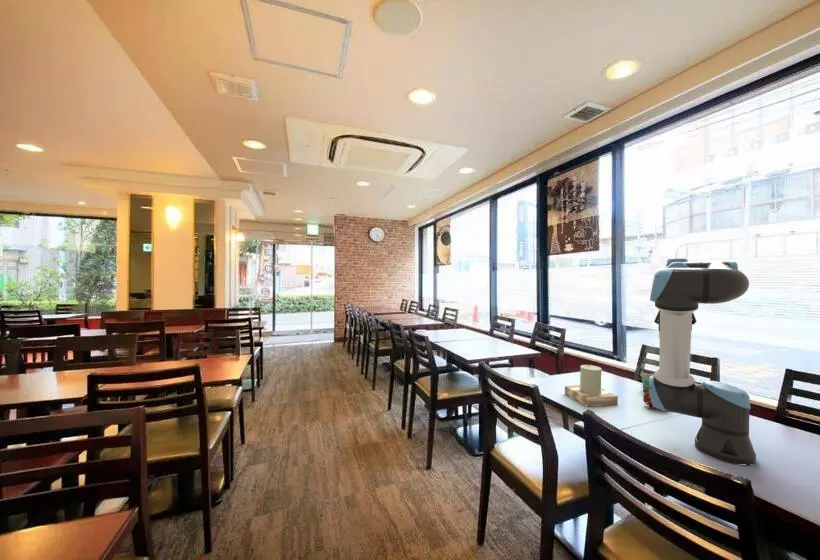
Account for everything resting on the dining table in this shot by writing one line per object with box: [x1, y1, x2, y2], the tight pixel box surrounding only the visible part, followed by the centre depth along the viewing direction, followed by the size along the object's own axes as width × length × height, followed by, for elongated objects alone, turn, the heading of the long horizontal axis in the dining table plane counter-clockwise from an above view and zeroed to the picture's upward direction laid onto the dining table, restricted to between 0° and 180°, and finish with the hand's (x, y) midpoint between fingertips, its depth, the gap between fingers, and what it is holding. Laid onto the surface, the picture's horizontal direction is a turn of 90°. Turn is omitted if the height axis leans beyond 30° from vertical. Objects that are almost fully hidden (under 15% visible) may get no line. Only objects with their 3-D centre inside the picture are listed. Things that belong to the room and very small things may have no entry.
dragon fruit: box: [642, 391, 659, 410], centre depth 149 cm, size 8×8×12 cm
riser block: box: [564, 384, 619, 407], centre depth 159 cm, size 16×16×4 cm
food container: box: [640, 370, 654, 393], centre depth 166 cm, size 12×6×10 cm, turn 25°
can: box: [579, 364, 603, 394], centre depth 158 cm, size 9×9×12 cm
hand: (675, 338), depth 149 cm, fingers open, 13 cm apart
